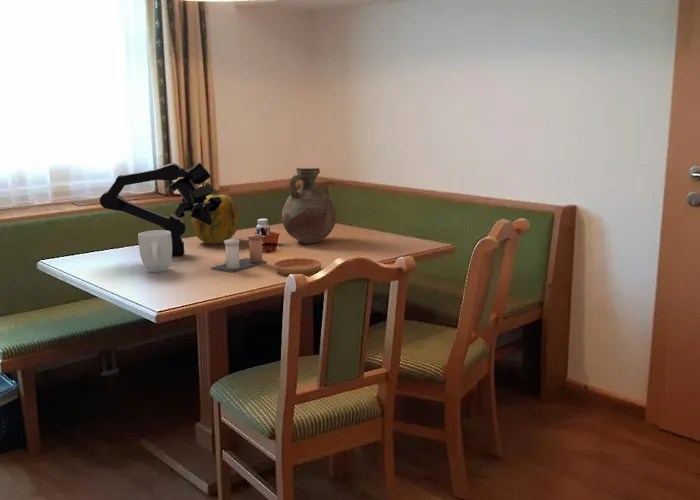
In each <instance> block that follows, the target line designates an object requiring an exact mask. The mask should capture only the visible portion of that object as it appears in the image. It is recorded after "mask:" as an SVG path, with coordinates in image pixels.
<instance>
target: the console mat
mask: <svg viewBox="0 0 700 500" xmlns="http://www.w3.org/2000/svg"><path fill="white" fill-rule="evenodd" d="M265 262H266V263H267V261H266V260H263V261H262V262H250V257H244V258H241V259H240V258H239V263H240V268H237V269H227V265H226V263H225V262H224V263H222V264H218V265H215V266H210V268H211V270H215V271H220V272H225V273H226V272H227V273H231V272H233V273H235V271H236V272H239V271H238V270H240V271H243V270H245V269H249V267H250V268H253V267H257V266H260V265H263V264H266V263H265ZM262 263H263V264H262ZM256 265H257V266H256Z"/></svg>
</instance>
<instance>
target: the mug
mask: <svg viewBox="0 0 700 500" xmlns="http://www.w3.org/2000/svg"><path fill="white" fill-rule="evenodd" d="M137 237H138V238H137V239H138V249H139V255H140V258H141V261H142V264H143V266H144V268H145V269H146V270H147V272H149V273H161V272H165V271H167V270H168V269H169V267H170V265H171V262H172V257H173V256H172V238H171V232H170V231H166V230H165V229H160V230H159V229H157V230H155V229H154V230H146V231H141V232H139V233H137Z"/></svg>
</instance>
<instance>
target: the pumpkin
mask: <svg viewBox="0 0 700 500" xmlns="http://www.w3.org/2000/svg"><path fill="white" fill-rule="evenodd" d="M207 184H210V180H209V179H208V180H206V181H205V182H204V186H206V185H207ZM213 190H214V191H213V192H212V194H209V195H208V196H206V197H207V199H206V200H204V202H208V200H209V199H210V198H212V197H220V199H221V200H222V202H221V204H220V205H219V207H218V208H217V210H216V211H212V212H210V216H211V220H212V224H211V225H208V224H206V223H204V222H202V221H200V220H198V219H196V218H194V217H191V216H190V218H191V226H192V229H193V232H194V234H195V236H196V237H197V238H198V239H199V241H202V242H203V243H206V244H209V245H210V244H214V245H219V244H224V240H228V239H232V238H233V237H234V235H235V234H236V232H237V230H238V227H239V224H240V222H239V221H240V214H239V207H238V205H237V204H236V201H235V200H234V199H233V198H232V197H231V196H230V195H228V194H219V193H218V191H217V190H216V189H215V188H214V187H213Z"/></svg>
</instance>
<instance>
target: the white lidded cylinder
mask: <svg viewBox="0 0 700 500" xmlns="http://www.w3.org/2000/svg"><path fill="white" fill-rule="evenodd" d="M223 244H224V245H225V246H224V247H225V262H226V265H227V269H237V268H240V263H239V260H240V247H239V245H240V239H237V238H236V239H235V238H230V239H228V240H224V243H223Z"/></svg>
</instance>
